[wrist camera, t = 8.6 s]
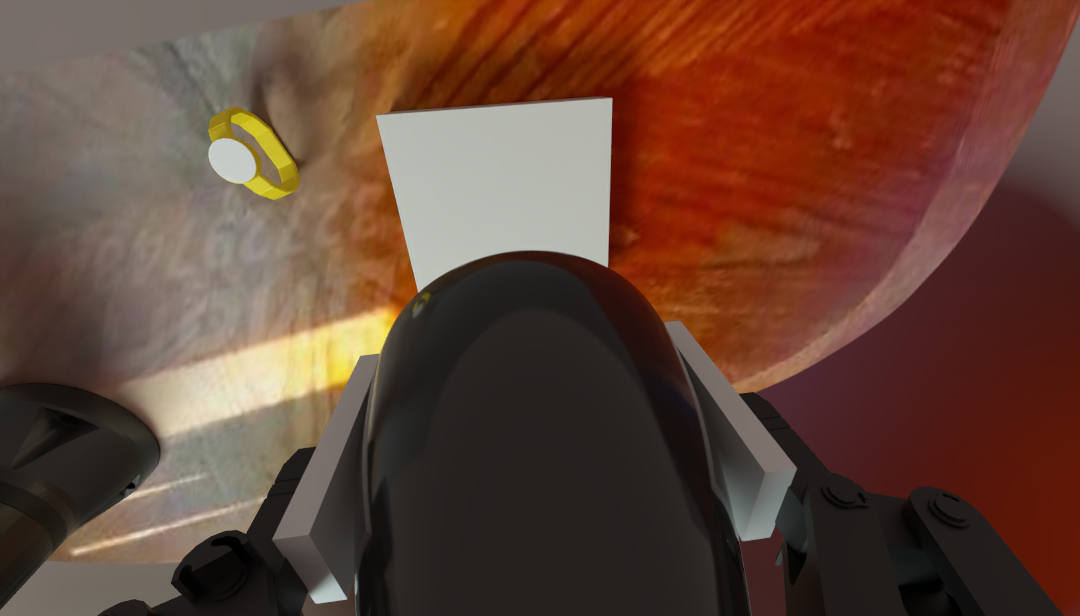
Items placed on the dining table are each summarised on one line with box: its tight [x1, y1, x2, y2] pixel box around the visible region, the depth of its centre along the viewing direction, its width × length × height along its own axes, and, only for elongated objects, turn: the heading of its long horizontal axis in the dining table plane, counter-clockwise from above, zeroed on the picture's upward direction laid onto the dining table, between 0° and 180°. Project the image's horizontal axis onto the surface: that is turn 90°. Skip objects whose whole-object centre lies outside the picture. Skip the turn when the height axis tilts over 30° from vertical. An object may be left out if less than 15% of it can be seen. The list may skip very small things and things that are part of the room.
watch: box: [209, 107, 300, 200], centre depth 28 cm, size 6×3×6 cm, turn 22°
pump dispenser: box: [354, 250, 751, 616], centre depth 11 cm, size 10×10×15 cm
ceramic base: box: [376, 96, 612, 293], centre depth 33 cm, size 16×16×4 cm
